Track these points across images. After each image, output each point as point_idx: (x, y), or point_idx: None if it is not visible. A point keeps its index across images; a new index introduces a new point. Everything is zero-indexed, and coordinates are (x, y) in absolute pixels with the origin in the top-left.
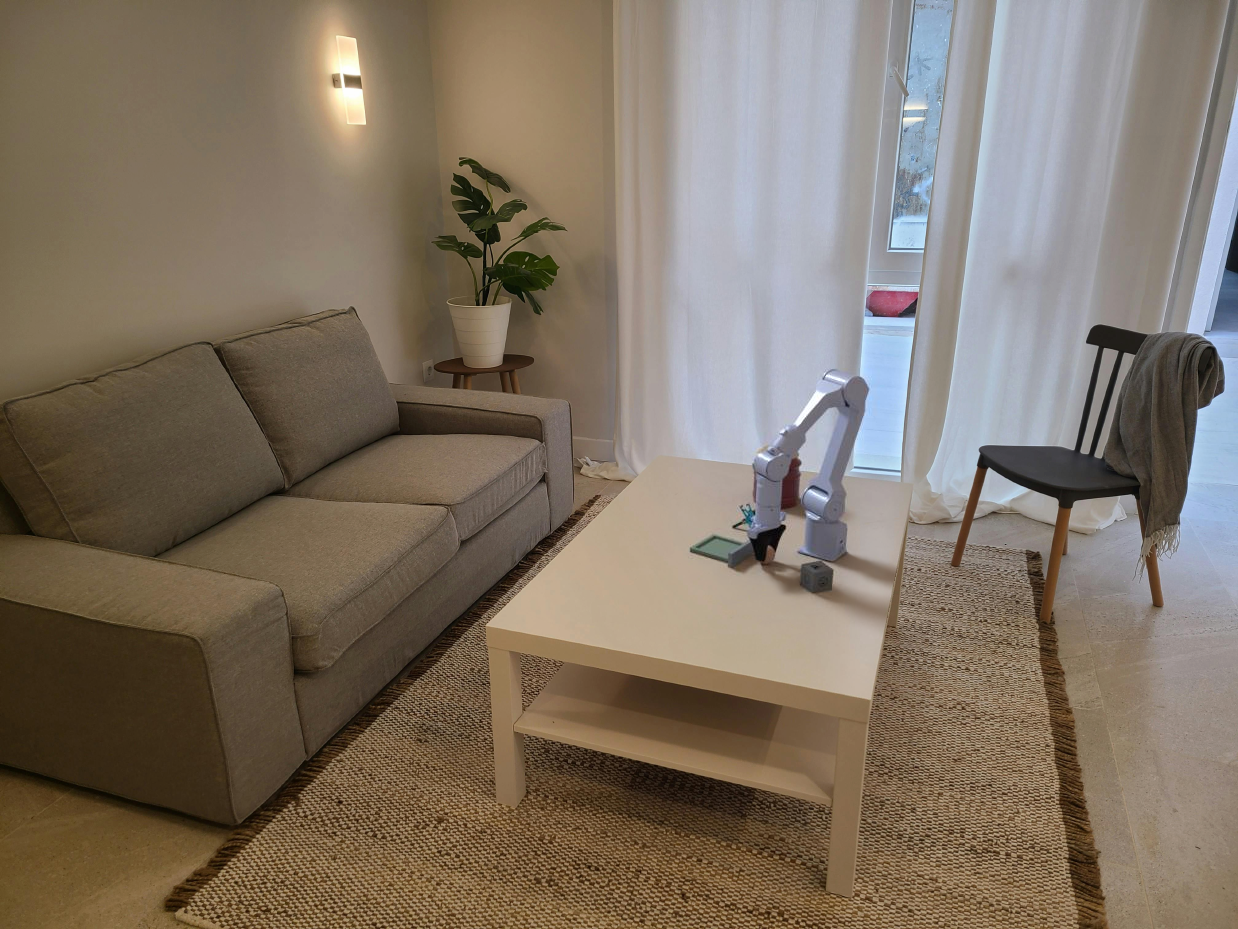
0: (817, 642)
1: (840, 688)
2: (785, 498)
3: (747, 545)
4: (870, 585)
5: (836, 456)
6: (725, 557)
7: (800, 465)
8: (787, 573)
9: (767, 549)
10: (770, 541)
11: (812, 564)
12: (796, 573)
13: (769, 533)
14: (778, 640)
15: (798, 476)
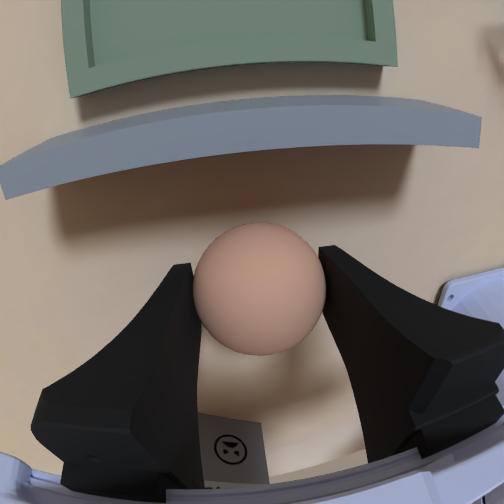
0: (56, 463)
1: None
2: None
3: (254, 146)
4: (315, 457)
5: None
6: (78, 72)
7: None
8: (232, 364)
9: (238, 351)
10: (350, 325)
11: (221, 486)
12: (257, 378)
13: (376, 368)
14: (2, 433)
15: None
